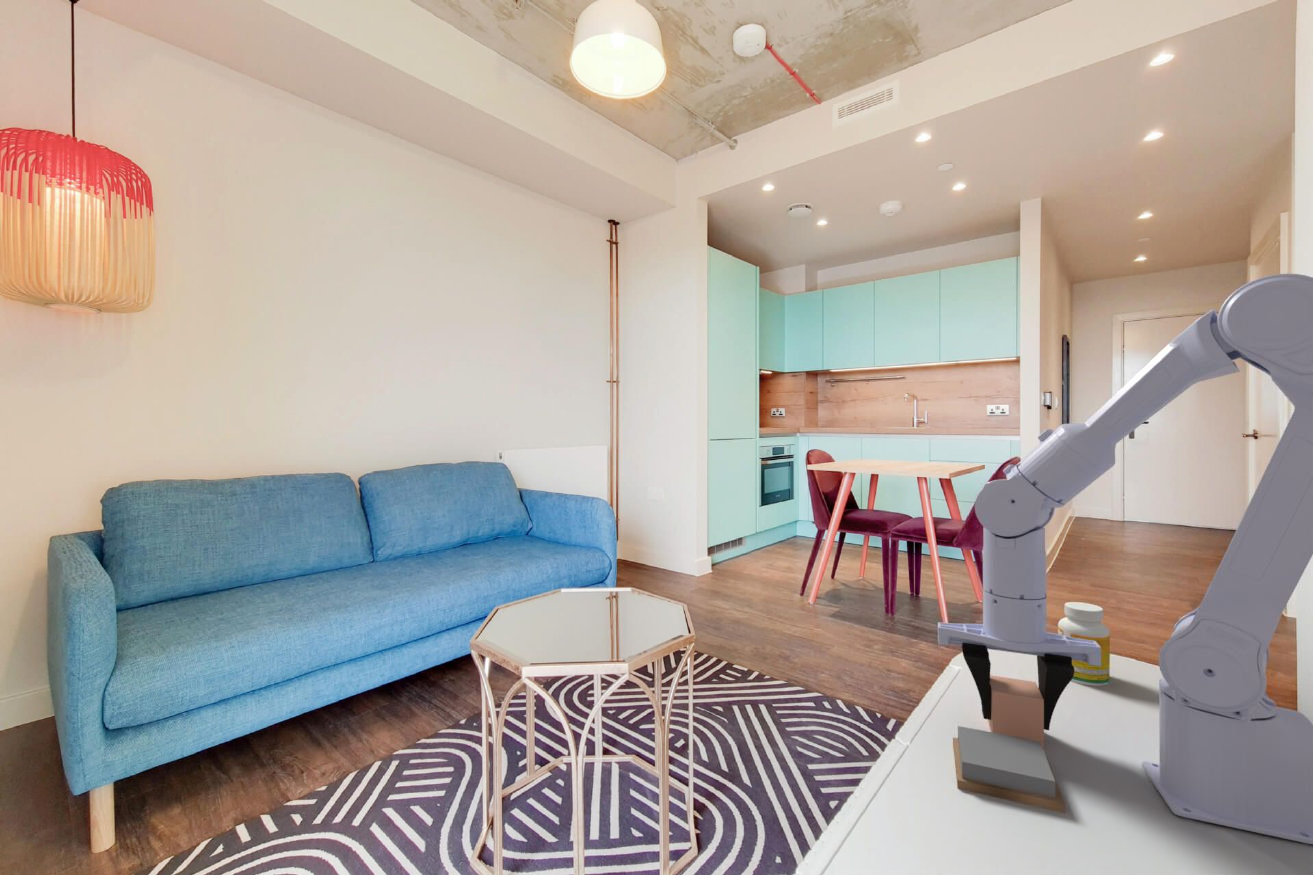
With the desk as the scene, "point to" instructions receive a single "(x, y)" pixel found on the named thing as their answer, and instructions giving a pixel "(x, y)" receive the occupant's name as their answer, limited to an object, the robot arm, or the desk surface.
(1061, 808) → the tower base
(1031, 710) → the terracotta block
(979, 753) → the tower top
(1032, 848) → the desk surface
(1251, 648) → the robot arm
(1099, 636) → the supplement bottle
